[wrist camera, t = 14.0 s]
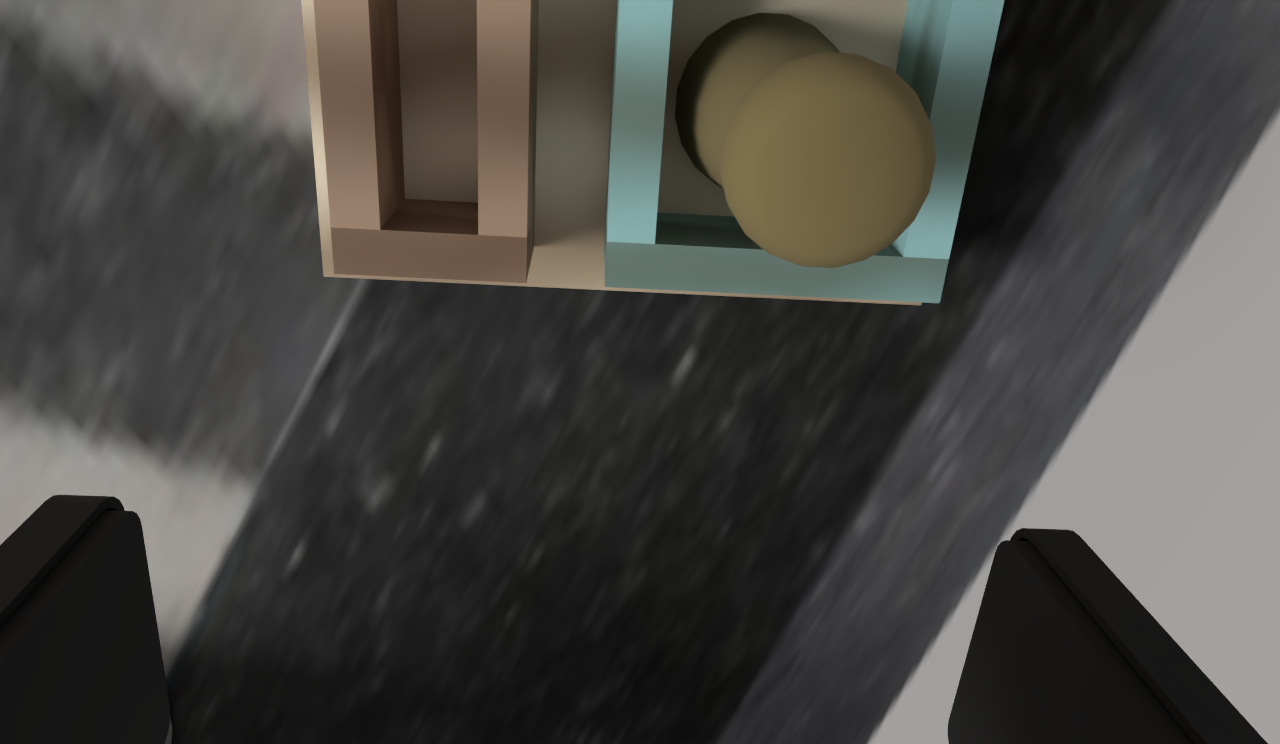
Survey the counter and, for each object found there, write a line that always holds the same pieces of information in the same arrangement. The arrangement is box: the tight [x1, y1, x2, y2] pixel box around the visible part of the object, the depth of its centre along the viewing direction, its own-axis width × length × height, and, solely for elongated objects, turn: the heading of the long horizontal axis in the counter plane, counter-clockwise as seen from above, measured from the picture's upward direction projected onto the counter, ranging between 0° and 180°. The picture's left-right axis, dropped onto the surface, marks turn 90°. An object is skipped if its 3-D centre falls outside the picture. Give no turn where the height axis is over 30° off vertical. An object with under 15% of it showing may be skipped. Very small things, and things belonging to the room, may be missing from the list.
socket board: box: [301, 0, 1004, 305], centre depth 29 cm, size 14×22×5 cm, turn 86°
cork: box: [675, 13, 936, 268], centre depth 26 cm, size 6×6×11 cm
